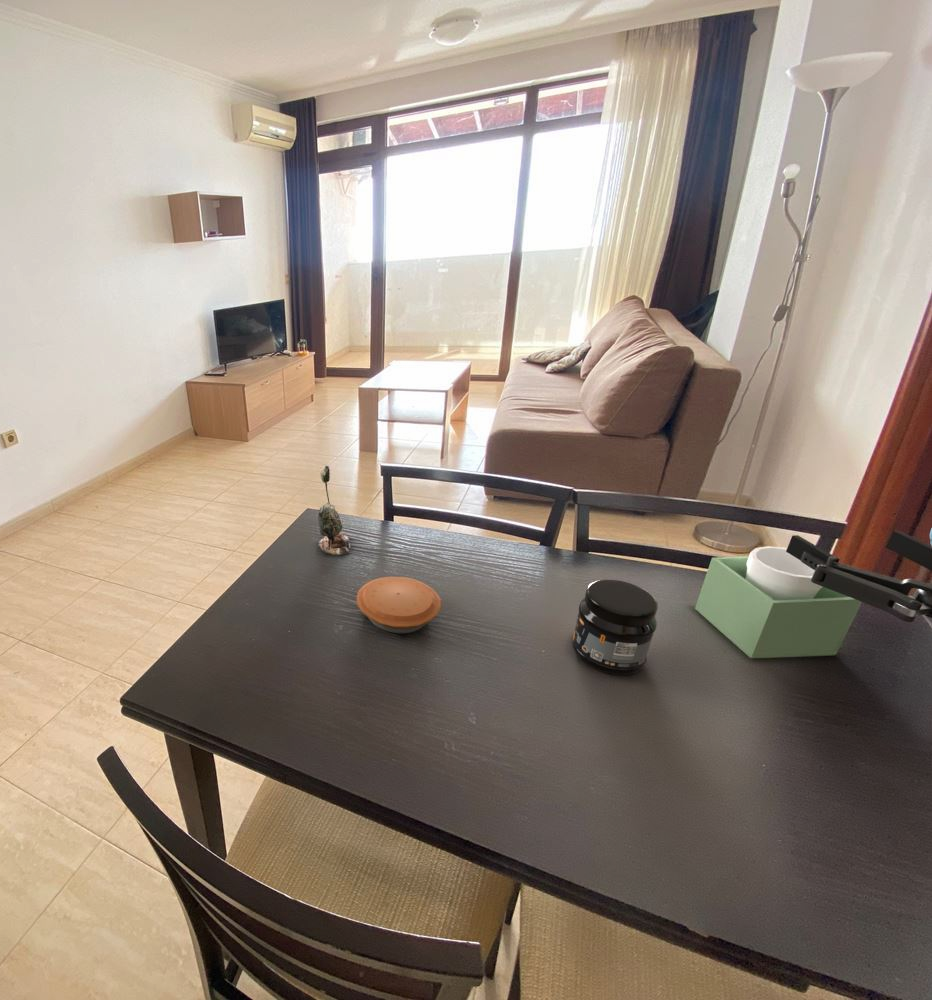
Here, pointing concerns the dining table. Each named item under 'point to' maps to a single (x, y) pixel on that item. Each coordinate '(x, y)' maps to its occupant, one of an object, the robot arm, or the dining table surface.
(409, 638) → the dining table surface
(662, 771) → the dining table surface
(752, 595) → the open green box
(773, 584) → the foam cup
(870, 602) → the robot arm
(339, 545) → the plant with pod
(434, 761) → the dining table surface
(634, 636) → the supplement container
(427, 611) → the pie
